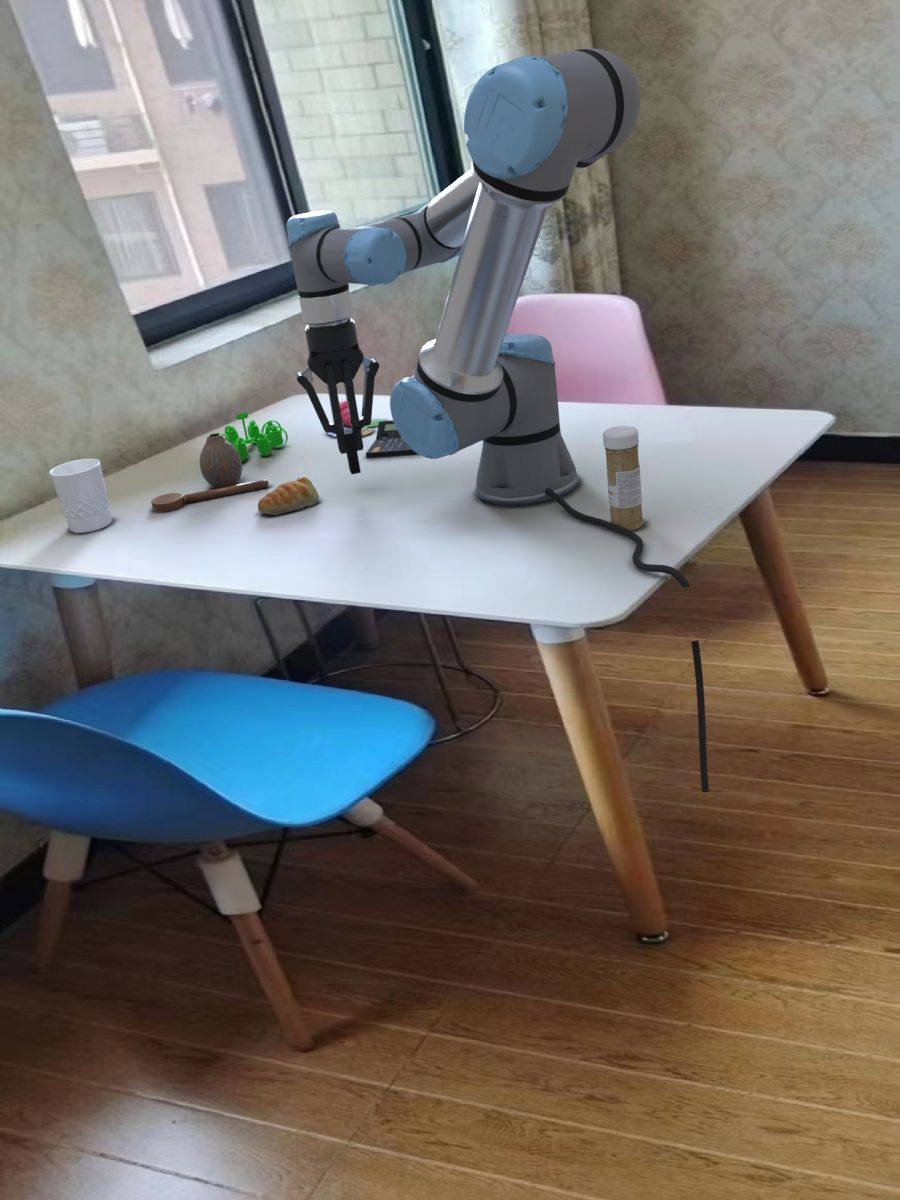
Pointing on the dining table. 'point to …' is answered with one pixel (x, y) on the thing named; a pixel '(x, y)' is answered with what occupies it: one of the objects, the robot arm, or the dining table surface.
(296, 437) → the dining table surface
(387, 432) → the calculator
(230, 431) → the chandelier
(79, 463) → the white cup
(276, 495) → the pastry
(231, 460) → the vase
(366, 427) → the toy pieces
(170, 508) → the wooden spoon
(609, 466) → the sprinkles bottle
